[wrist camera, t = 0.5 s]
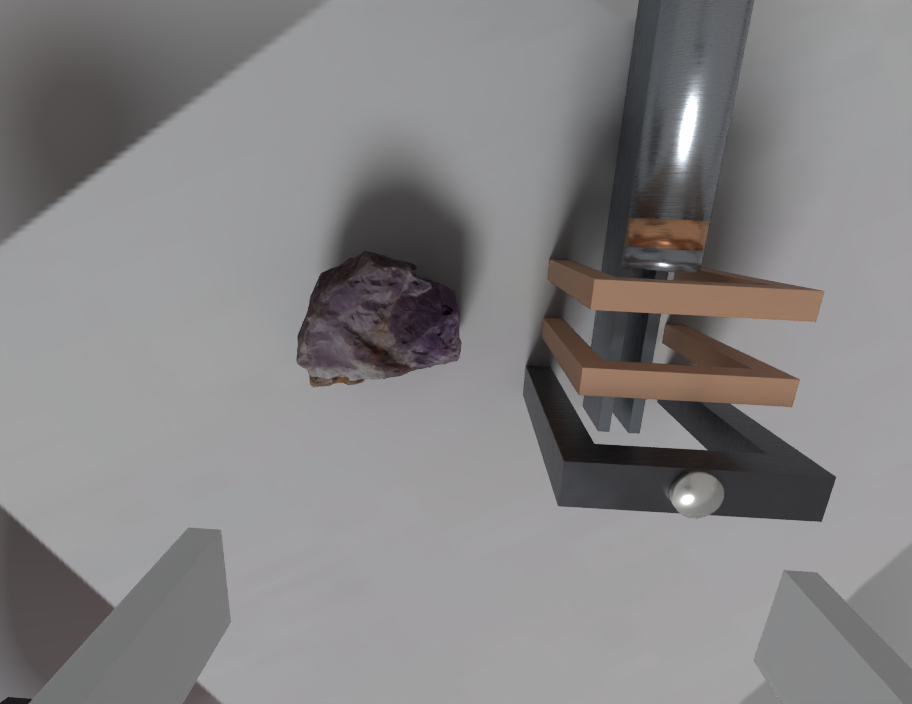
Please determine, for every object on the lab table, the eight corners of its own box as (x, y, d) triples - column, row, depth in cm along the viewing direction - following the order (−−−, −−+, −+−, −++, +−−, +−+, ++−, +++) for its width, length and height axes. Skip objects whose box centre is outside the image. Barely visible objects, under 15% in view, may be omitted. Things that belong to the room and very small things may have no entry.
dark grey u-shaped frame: (525, 365, 36) (565, 465, 21) (687, 374, 36) (842, 481, 21) (523, 394, 37) (559, 511, 22) (682, 403, 36) (827, 527, 22)
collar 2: (543, 317, 35) (582, 367, 23) (685, 325, 35) (799, 379, 23) (541, 336, 35) (578, 395, 23) (681, 344, 35) (792, 406, 23)
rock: (461, 353, 37) (433, 232, 34) (479, 389, 29) (445, 233, 26) (322, 388, 36) (282, 267, 33) (301, 435, 28) (245, 280, 25)
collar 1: (549, 259, 34) (594, 279, 21) (696, 266, 33) (824, 291, 21) (547, 279, 34) (590, 309, 22) (692, 286, 34) (816, 321, 22)
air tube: (681, -219, 22) (730, -321, 18) (769, -216, 22) (838, -318, 18) (612, 263, 29) (636, 269, 25) (679, 266, 29) (715, 274, 25)
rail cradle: (648, -68, 28) (681, -121, 23) (696, -66, 28) (738, -119, 23) (582, 406, 37) (598, 431, 32) (619, 408, 37) (639, 433, 32)
